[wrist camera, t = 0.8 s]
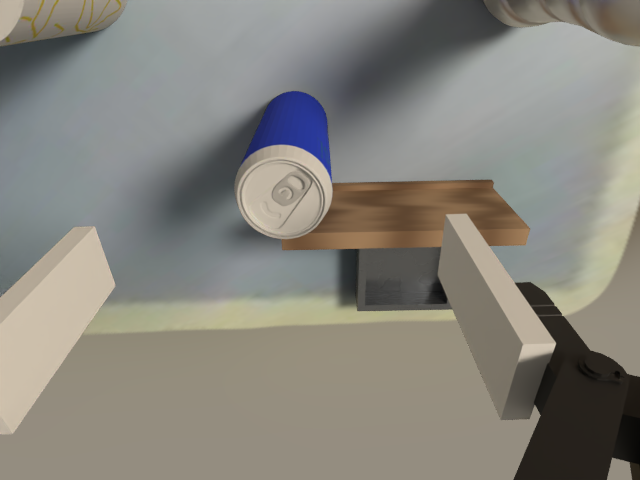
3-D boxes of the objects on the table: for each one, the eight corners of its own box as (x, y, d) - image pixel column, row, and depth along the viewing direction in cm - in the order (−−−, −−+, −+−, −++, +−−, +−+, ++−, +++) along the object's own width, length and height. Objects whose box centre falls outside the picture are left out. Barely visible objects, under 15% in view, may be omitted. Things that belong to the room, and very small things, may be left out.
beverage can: (298, 165, 36) (287, 260, 23) (251, 124, 34) (210, 203, 21) (340, 120, 34) (354, 197, 21) (292, 75, 32) (275, 128, 19)
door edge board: (289, 208, 38) (282, 255, 31) (287, 184, 36) (280, 227, 30) (486, 204, 38) (524, 250, 31) (491, 179, 36) (531, 222, 29)
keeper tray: (355, 295, 43) (357, 311, 41) (357, 214, 38) (360, 227, 36) (445, 293, 43) (452, 309, 41) (459, 212, 38) (468, 225, 36)
